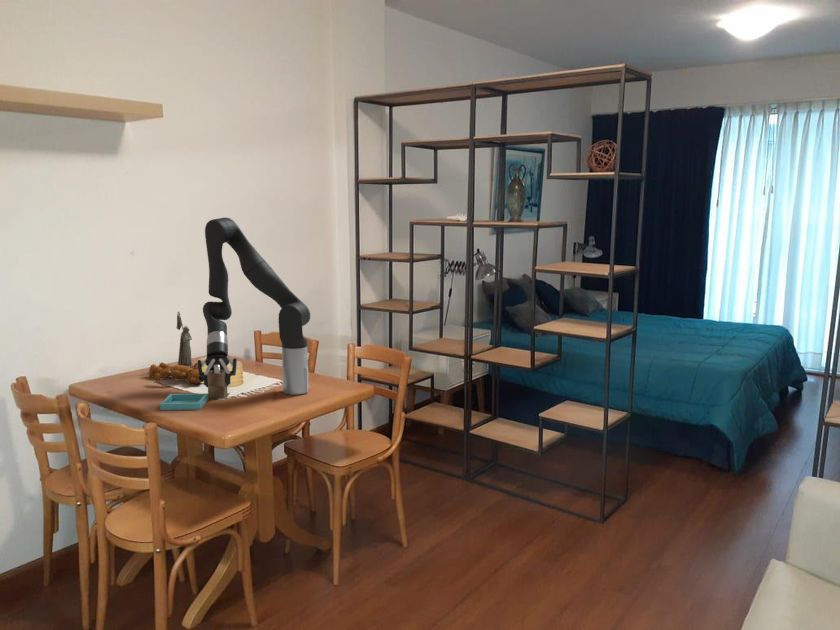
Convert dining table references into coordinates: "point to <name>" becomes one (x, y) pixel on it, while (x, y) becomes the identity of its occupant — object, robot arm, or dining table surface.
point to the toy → (176, 372)
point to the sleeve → (217, 384)
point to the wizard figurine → (184, 344)
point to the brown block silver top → (217, 370)
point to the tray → (184, 402)
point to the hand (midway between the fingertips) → (217, 385)
